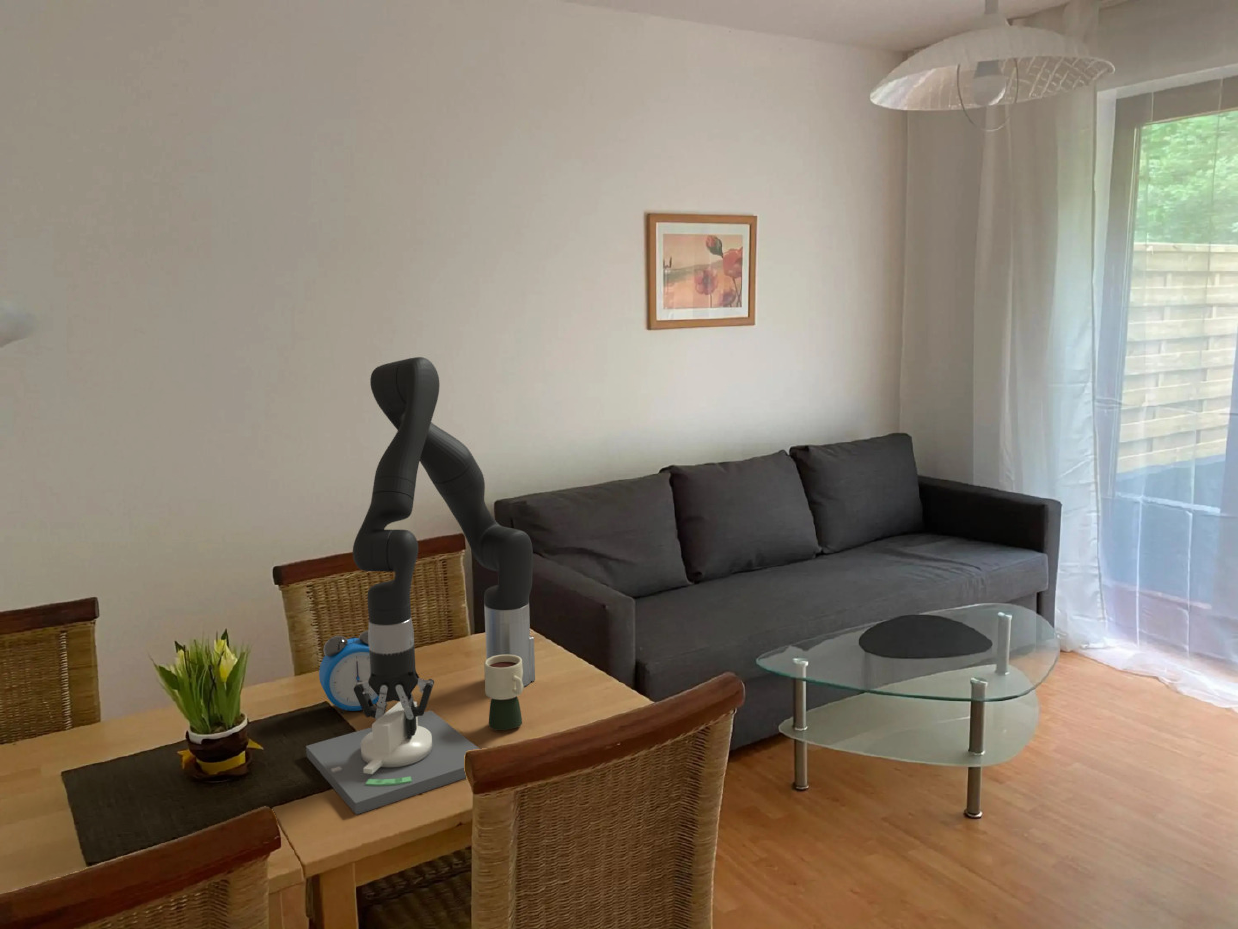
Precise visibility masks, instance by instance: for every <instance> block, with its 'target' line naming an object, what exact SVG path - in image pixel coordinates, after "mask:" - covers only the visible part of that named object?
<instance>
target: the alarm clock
mask: <svg viewBox="0 0 1238 929" xmlns="http://www.w3.org/2000/svg"><path fill="white" fill-rule="evenodd" d="M323 653H324V657H323V658H322V660H321V662H320V666H319V668H318V669H319V670H318V677H319V683H320V685H321V688H322V689H323V691H324V693H325V696H326V697H327V699H328V700H329V702H331V704H332V705H334V706H335V707H337V708H339V709H341V713H340V714H344V712H345V711H349V712H357V711H363V710H362V708H361V706H360V703H359V701H358V699H357V697H356V694H355V692H354V687H355V685H356V684H357V682H358V681H366V680H369V678H370V675H371V670H370V655H369V645H368V630H364V631H363V632H361V633H360V634H359V635H358V638H357V636H356V635H355V636H350V638H346V637H345V636H342V635H335V636H332V637H330V638H329V639H328V640H327V641H326V642H325V644H324V646H323ZM368 693H369V695H370V698H371V700H372V702H373V704H374V706H375V707H377V703H378V699H379V696H378V695H377V694H376V693H375V691H374V690H373V689H372V688H371V687H370V686H369V692H368Z"/></svg>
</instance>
